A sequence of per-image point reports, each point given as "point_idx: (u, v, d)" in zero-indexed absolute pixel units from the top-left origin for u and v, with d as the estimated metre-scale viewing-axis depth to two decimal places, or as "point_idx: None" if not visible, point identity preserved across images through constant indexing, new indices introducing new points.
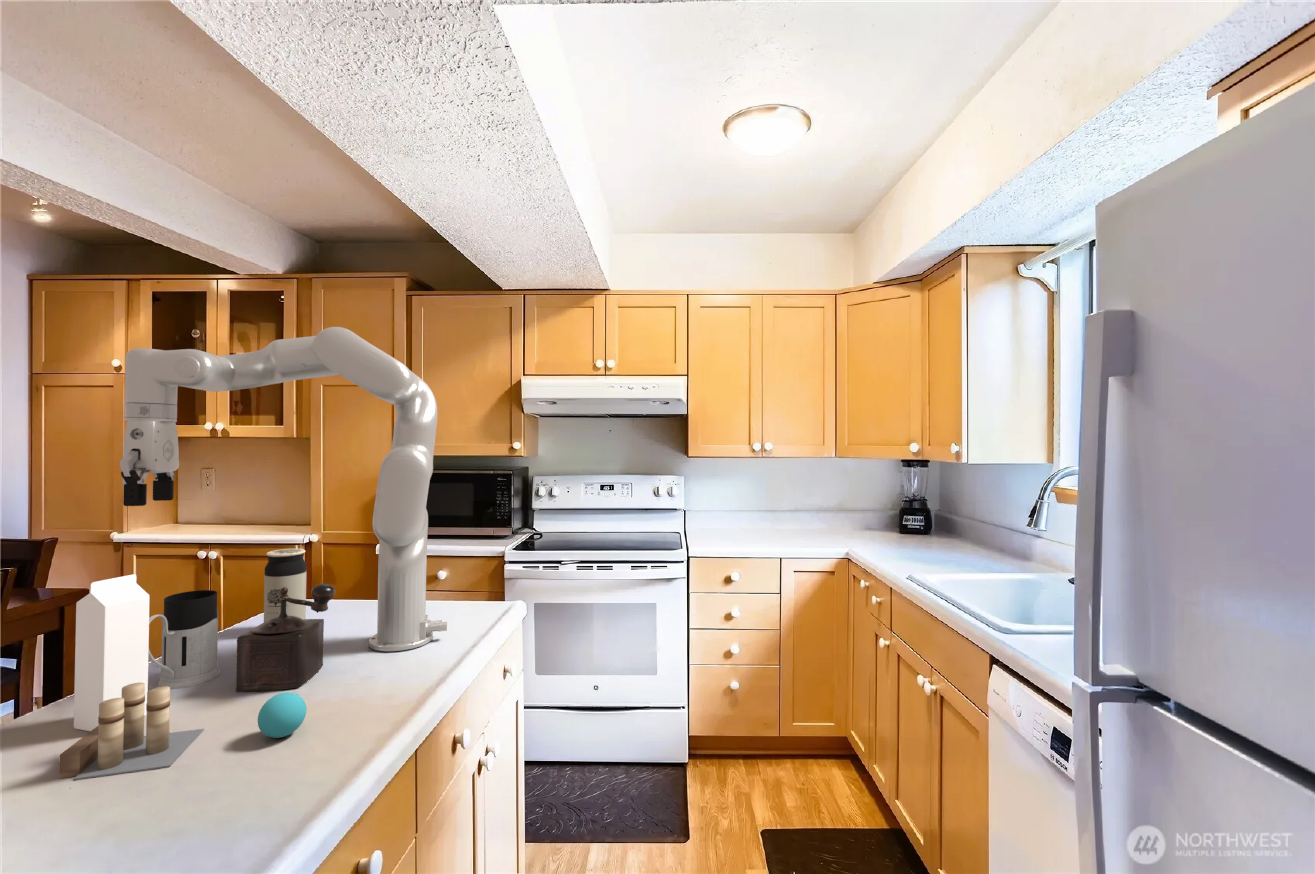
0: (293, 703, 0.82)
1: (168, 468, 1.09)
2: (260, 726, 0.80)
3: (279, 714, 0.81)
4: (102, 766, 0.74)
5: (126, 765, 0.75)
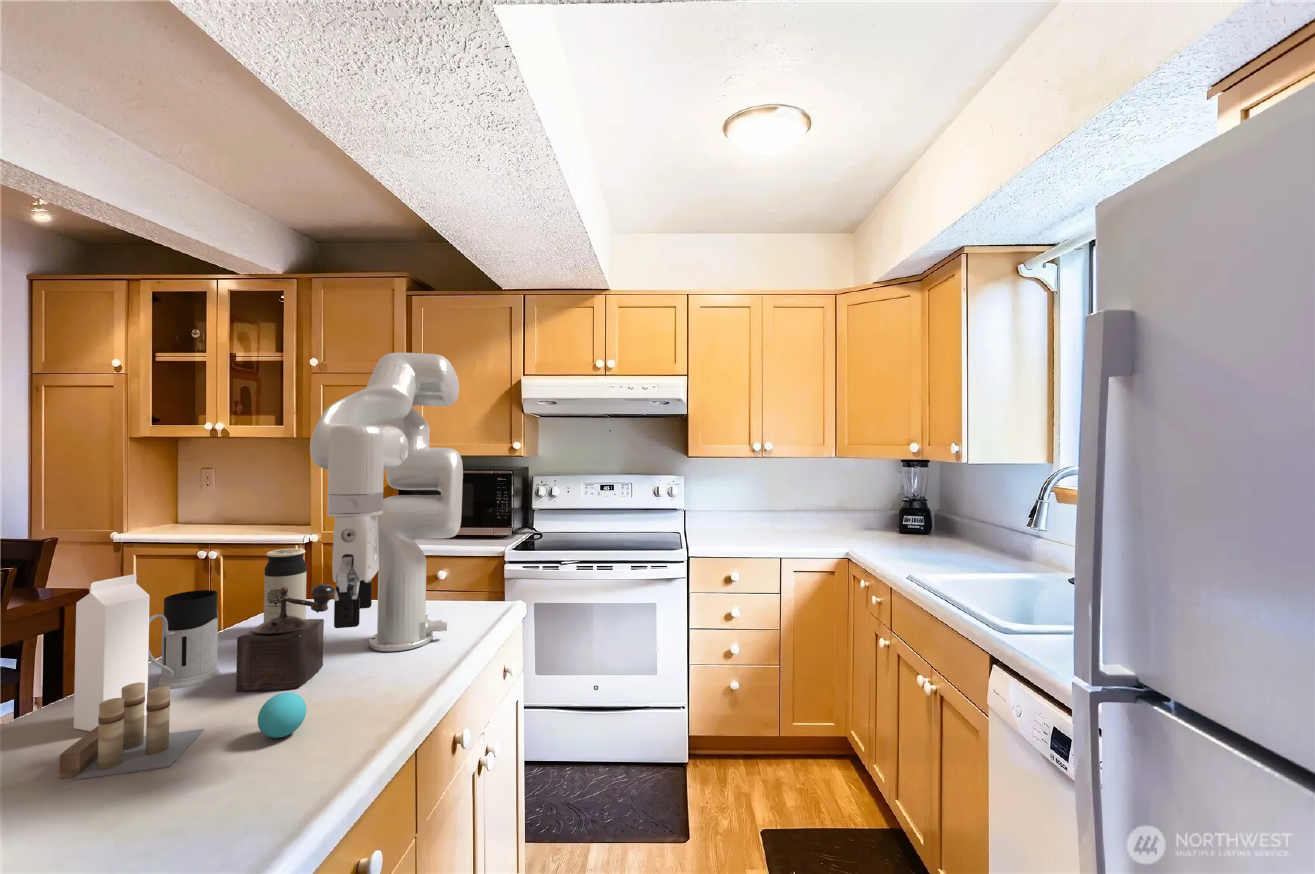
0: (293, 703, 0.82)
1: (375, 572, 0.87)
2: (260, 726, 0.80)
3: (279, 714, 0.81)
4: (102, 766, 0.74)
5: (126, 765, 0.75)
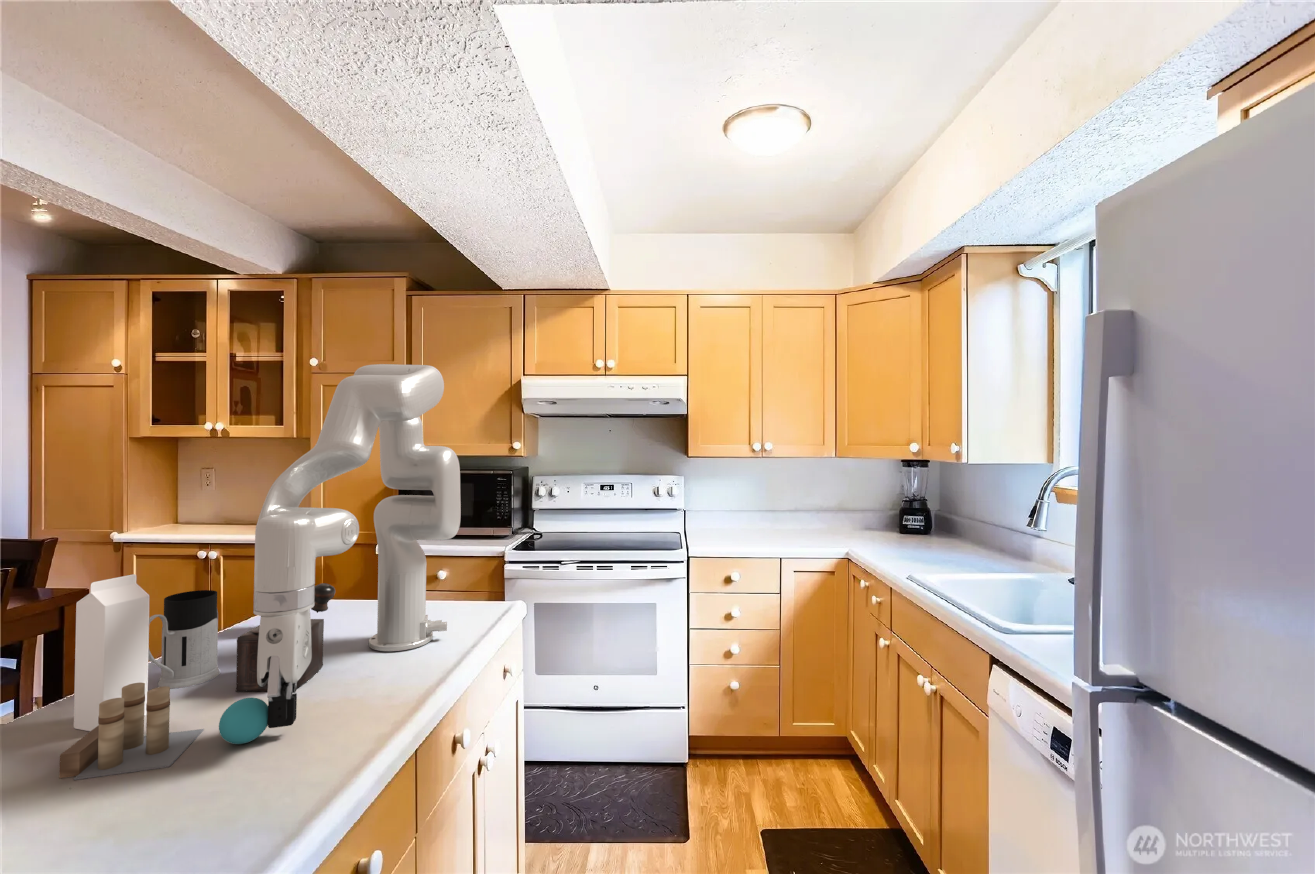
0: (230, 712, 0.79)
1: (305, 667, 0.84)
2: (238, 743, 0.80)
3: (230, 727, 0.78)
4: (102, 766, 0.74)
5: (126, 765, 0.75)
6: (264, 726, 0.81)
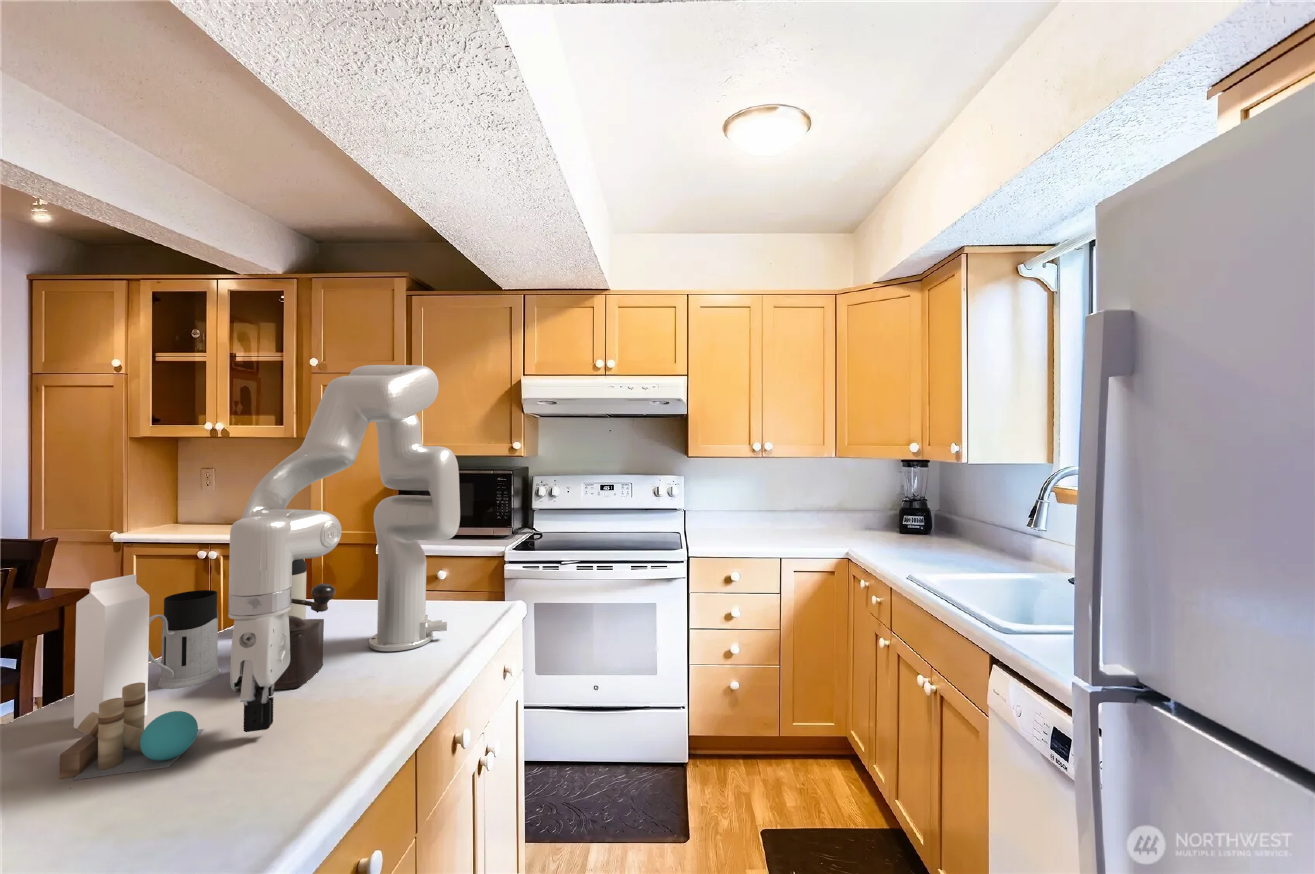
0: None
1: (282, 671, 0.83)
2: (175, 732, 0.75)
3: (172, 755, 0.75)
4: (102, 766, 0.74)
5: (126, 765, 0.75)
6: (145, 736, 0.74)
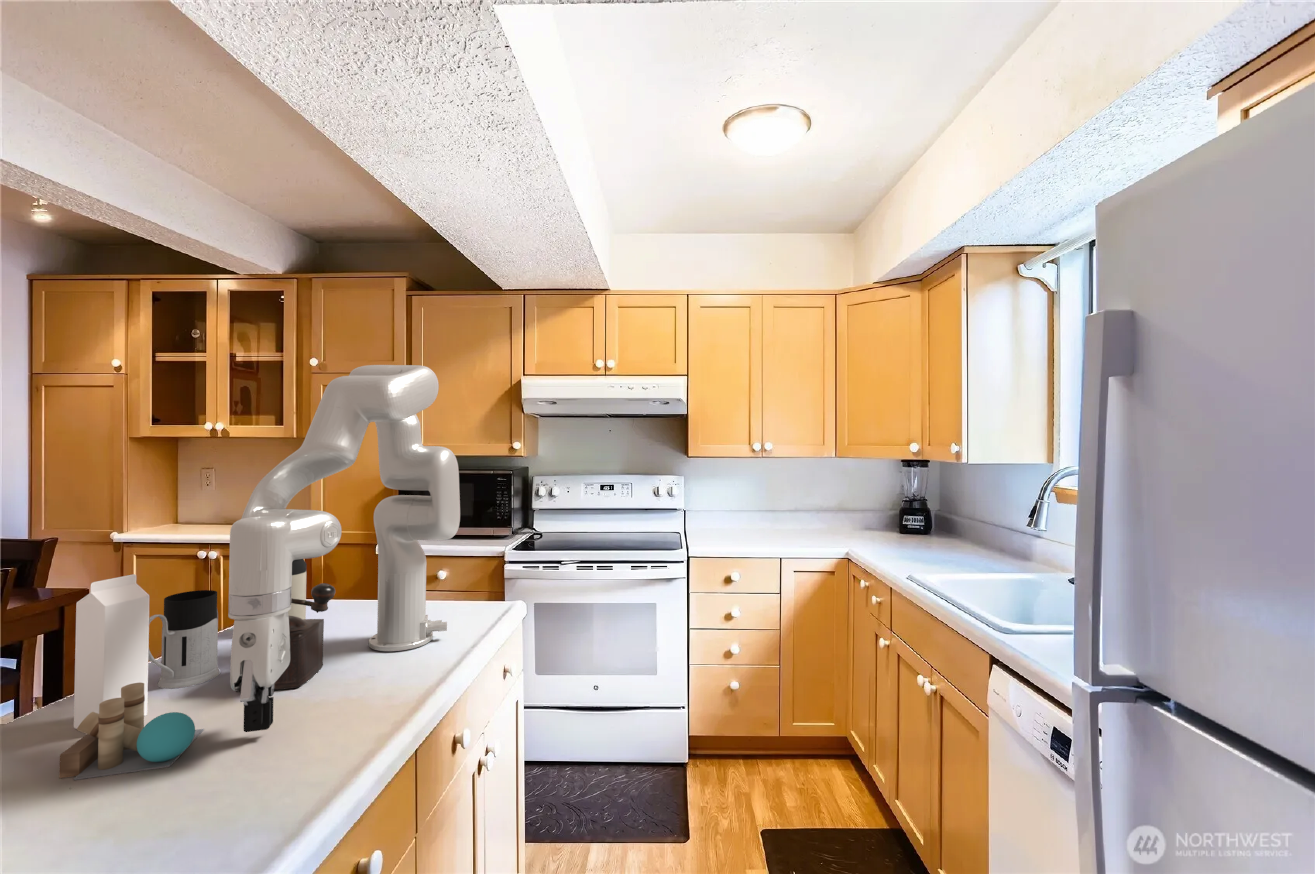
0: None
1: (282, 671, 0.83)
2: (171, 735, 0.75)
3: (171, 756, 0.75)
4: (102, 766, 0.74)
5: (126, 765, 0.75)
6: (140, 740, 0.74)
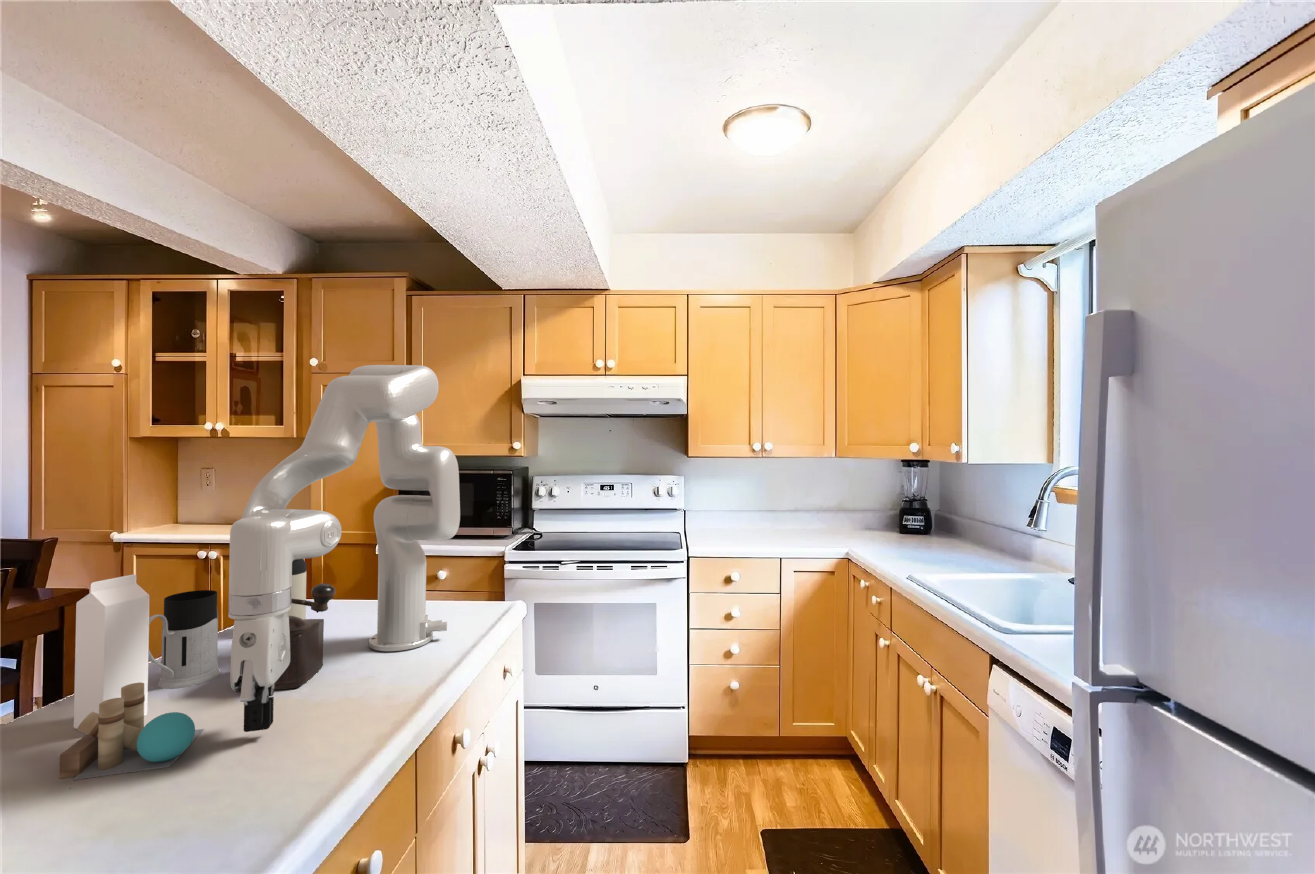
0: None
1: (282, 671, 0.83)
2: (171, 735, 0.75)
3: (171, 756, 0.75)
4: (102, 766, 0.74)
5: (126, 765, 0.75)
6: (140, 740, 0.74)
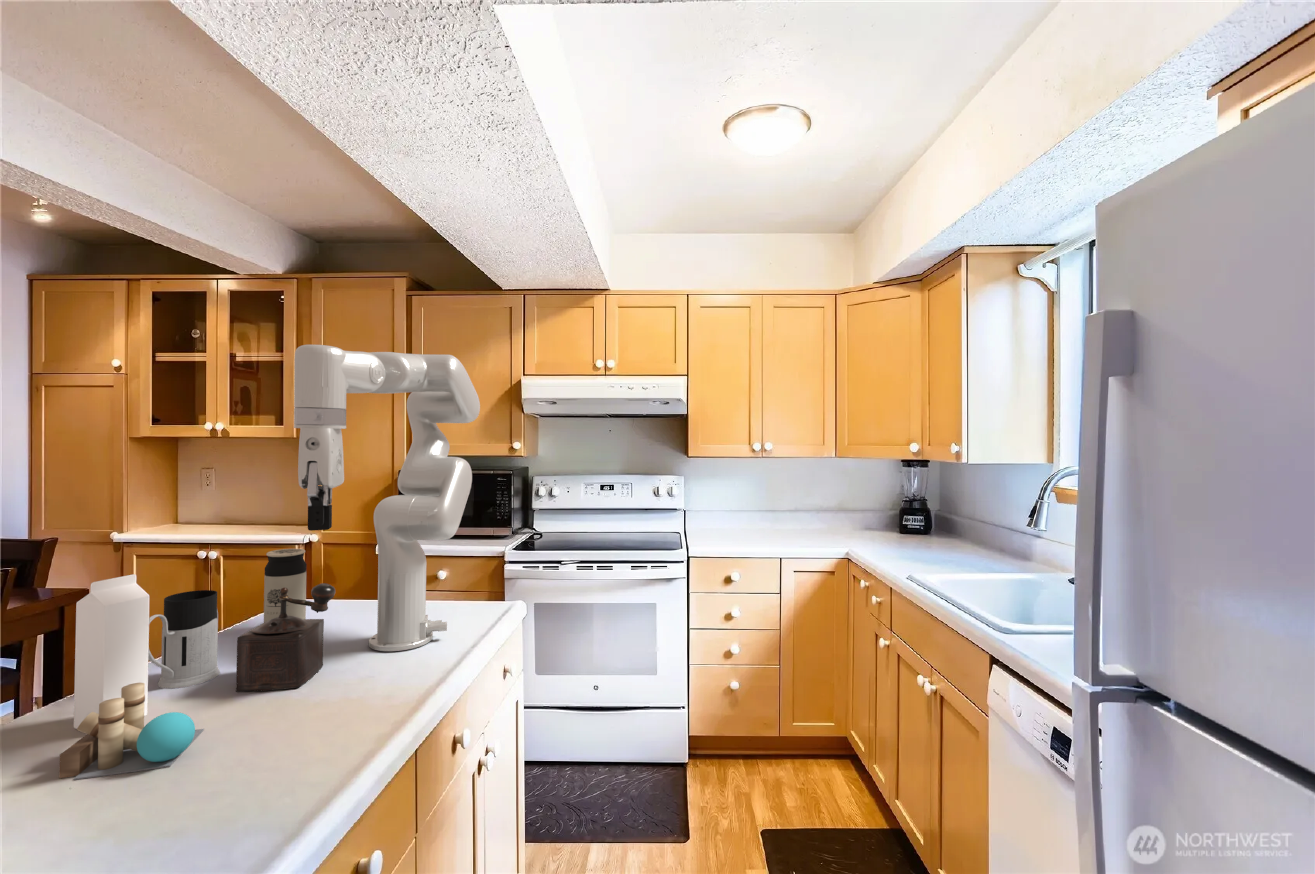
0: None
1: (339, 482, 0.95)
2: (171, 735, 0.75)
3: (171, 756, 0.75)
4: (102, 766, 0.74)
5: (126, 765, 0.75)
6: (140, 740, 0.74)
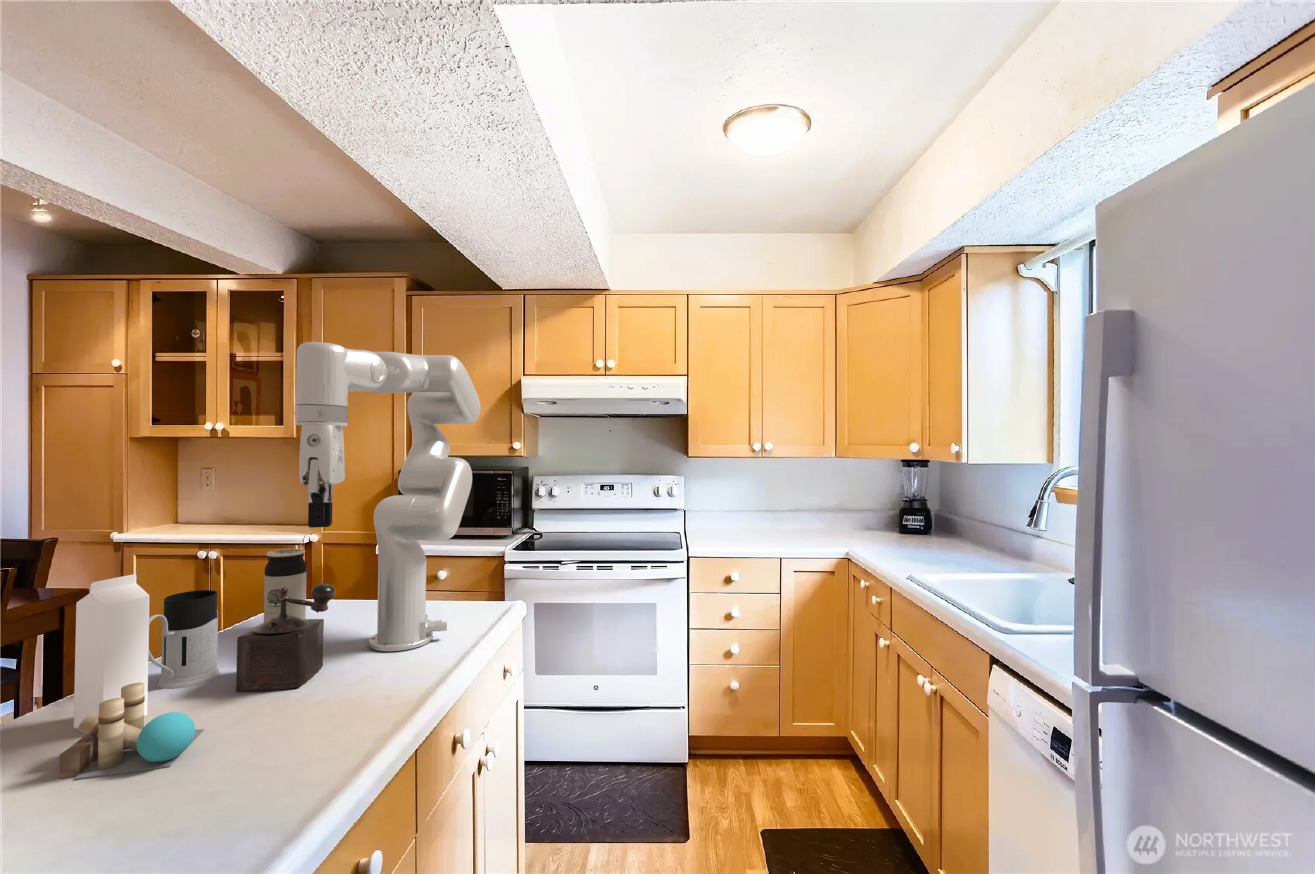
0: None
1: (340, 479, 0.95)
2: (171, 735, 0.75)
3: (171, 756, 0.75)
4: (102, 766, 0.74)
5: (126, 765, 0.75)
6: (140, 740, 0.74)
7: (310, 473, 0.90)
